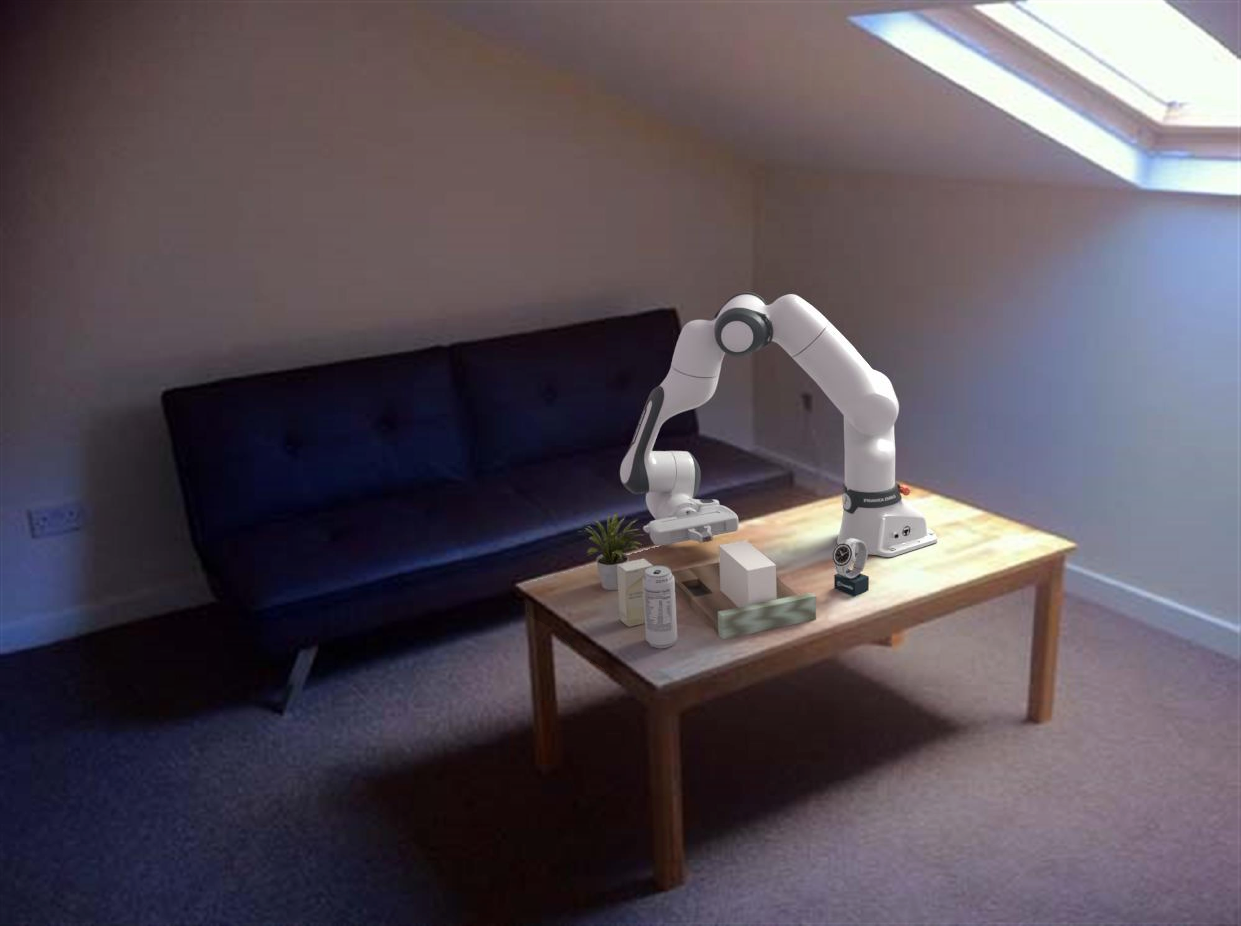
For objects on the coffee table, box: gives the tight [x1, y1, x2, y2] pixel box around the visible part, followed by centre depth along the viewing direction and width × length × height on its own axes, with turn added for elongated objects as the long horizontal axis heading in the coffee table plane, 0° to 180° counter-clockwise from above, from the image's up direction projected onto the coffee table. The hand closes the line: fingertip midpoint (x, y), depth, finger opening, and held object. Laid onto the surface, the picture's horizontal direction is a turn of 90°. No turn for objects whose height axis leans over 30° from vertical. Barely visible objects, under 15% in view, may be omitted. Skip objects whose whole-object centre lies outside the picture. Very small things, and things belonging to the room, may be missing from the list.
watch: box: [831, 538, 870, 597], centre depth 230 cm, size 6×8×11 cm
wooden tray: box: [671, 561, 817, 640], centre depth 229 cm, size 20×30×5 cm, turn 18°
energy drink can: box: [643, 565, 678, 649], centre depth 212 cm, size 6×6×15 cm
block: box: [718, 539, 777, 607], centre depth 223 cm, size 6×14×10 cm, turn 18°
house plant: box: [577, 511, 643, 591], centre depth 237 cm, size 14×14×16 cm
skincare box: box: [617, 558, 654, 628], centre depth 222 cm, size 6×4×12 cm
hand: (706, 538), depth 242 cm, fingers closed
